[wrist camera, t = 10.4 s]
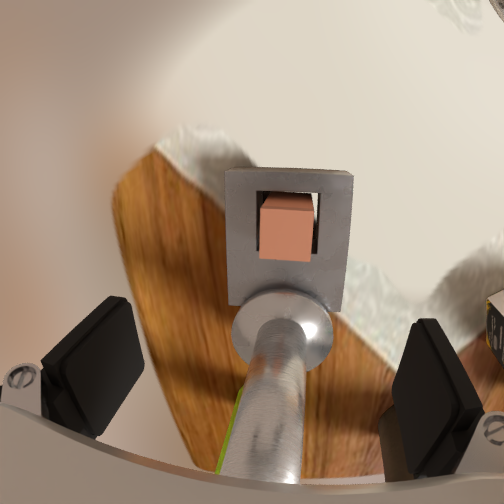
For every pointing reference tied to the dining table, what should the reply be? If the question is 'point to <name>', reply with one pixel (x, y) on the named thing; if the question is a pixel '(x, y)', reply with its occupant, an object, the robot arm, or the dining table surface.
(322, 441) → the dining table surface
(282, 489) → the robot arm
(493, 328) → the medicine bottle
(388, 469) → the pillar candle
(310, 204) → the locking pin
